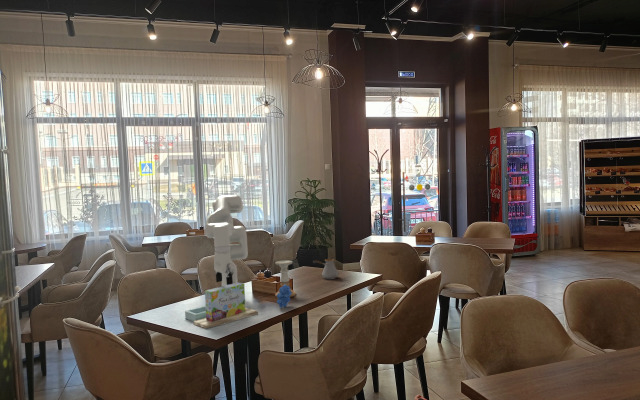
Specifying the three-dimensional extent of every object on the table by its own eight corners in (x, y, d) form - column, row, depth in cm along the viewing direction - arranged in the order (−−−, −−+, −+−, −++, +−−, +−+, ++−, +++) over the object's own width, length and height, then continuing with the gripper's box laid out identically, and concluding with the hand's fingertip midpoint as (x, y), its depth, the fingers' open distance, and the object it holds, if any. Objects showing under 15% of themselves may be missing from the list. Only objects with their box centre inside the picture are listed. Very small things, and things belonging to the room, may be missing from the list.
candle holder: (298, 296, 272) (296, 262, 271) (277, 298, 268) (275, 264, 268) (293, 291, 284) (291, 259, 283) (273, 294, 280) (271, 261, 279)
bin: (185, 318, 238) (184, 310, 237) (228, 307, 255) (228, 300, 255) (195, 322, 230) (195, 314, 229) (240, 310, 247) (239, 303, 247)
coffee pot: (329, 275, 326) (328, 254, 325) (342, 277, 318) (341, 255, 318) (308, 281, 310) (307, 259, 310) (321, 283, 302) (320, 260, 302)
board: (193, 324, 227) (193, 321, 227) (244, 310, 248) (244, 307, 248) (206, 328, 218) (205, 325, 218) (257, 314, 239) (257, 311, 239)
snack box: (213, 322, 223) (211, 291, 222) (205, 320, 227) (204, 290, 226) (246, 311, 239) (244, 282, 239) (239, 310, 243) (237, 281, 242)
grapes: (285, 303, 257) (284, 282, 257) (294, 304, 253) (293, 283, 253) (271, 308, 248) (270, 286, 247) (281, 310, 244) (280, 287, 243)
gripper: (206, 249, 235) (209, 282, 237) (225, 252, 223) (227, 287, 224) (219, 246, 241) (221, 279, 242) (238, 249, 228) (240, 283, 229)
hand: (224, 282), depth 233 cm, fingers open, 9 cm apart
